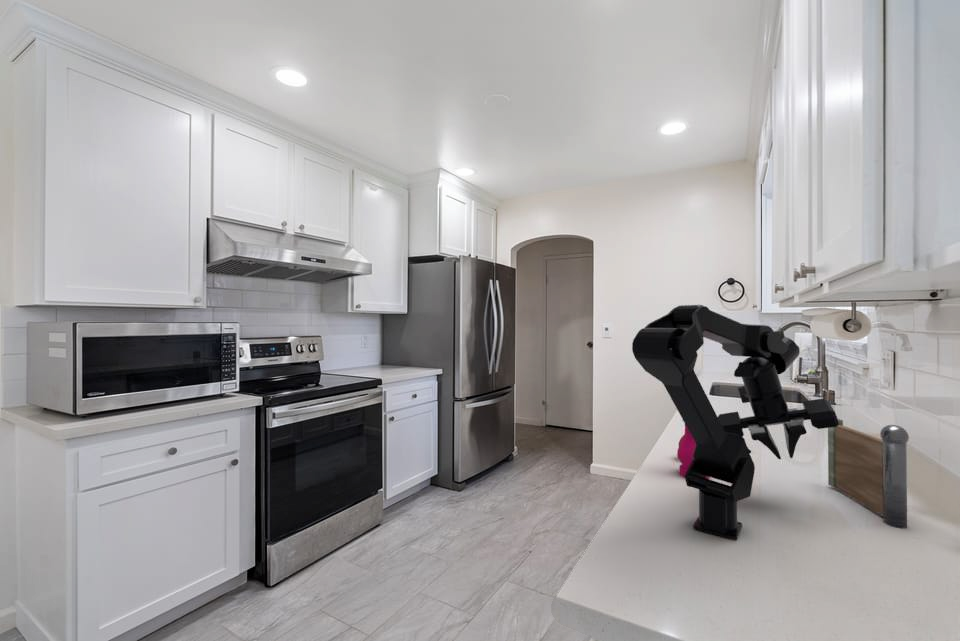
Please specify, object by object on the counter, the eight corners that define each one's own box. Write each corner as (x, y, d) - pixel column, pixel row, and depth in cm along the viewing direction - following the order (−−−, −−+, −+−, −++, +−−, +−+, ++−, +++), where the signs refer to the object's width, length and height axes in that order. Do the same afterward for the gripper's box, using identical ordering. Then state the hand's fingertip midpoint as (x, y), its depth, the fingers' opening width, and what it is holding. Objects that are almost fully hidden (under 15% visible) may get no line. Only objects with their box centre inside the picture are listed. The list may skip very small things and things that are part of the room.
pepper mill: (675, 477, 100) (675, 388, 100) (678, 468, 106) (678, 384, 107) (712, 483, 97) (712, 390, 97) (712, 473, 103) (712, 386, 103)
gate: (880, 515, 79) (880, 436, 79) (828, 484, 94) (827, 418, 94) (892, 516, 78) (891, 436, 79) (837, 485, 94) (837, 418, 94)
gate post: (911, 530, 74) (910, 428, 74) (882, 525, 76) (881, 425, 76) (907, 523, 77) (906, 424, 77) (880, 517, 79) (879, 421, 79)
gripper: (811, 357, 86) (831, 426, 89) (706, 377, 95) (727, 440, 98) (828, 385, 76) (850, 461, 79) (710, 404, 85) (733, 472, 88)
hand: (785, 457), depth 86 cm, fingers closed
